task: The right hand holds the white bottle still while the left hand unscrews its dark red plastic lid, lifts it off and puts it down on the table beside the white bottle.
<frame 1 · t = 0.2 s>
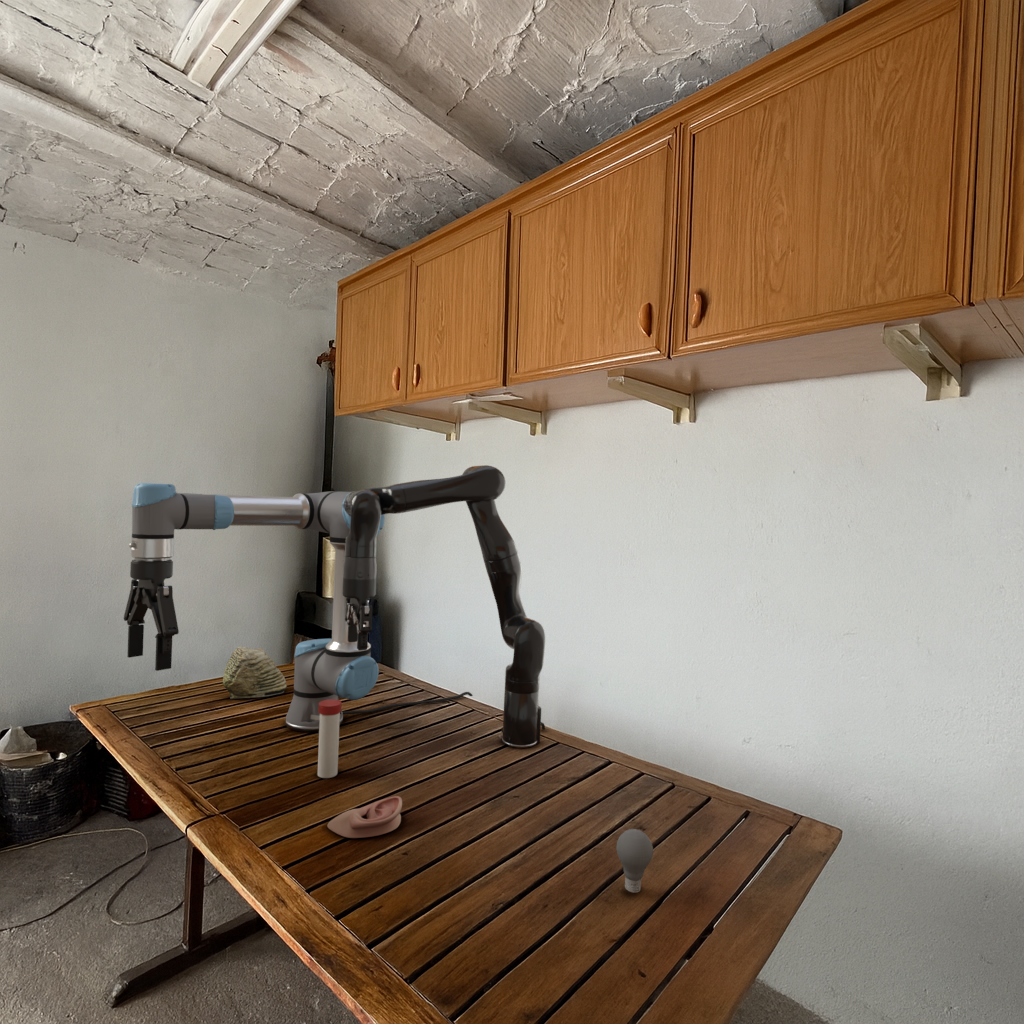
left hand: (148, 662, 129), 28 cm above the table, tool pointing down, fingers open, 13 cm apart
right hand: (357, 645, 147), 29 cm above the table, tool pointing down, fingers open, 8 cm apart
fossil: (254, 694, 198), on the table
white bottle: (327, 773, 145), on the table
anatomical model: (365, 824, 123), on the table
lid: (330, 704, 144), point 16 cm above the table, screwed on, not yet turned
light bulb: (632, 891, 106), on the table
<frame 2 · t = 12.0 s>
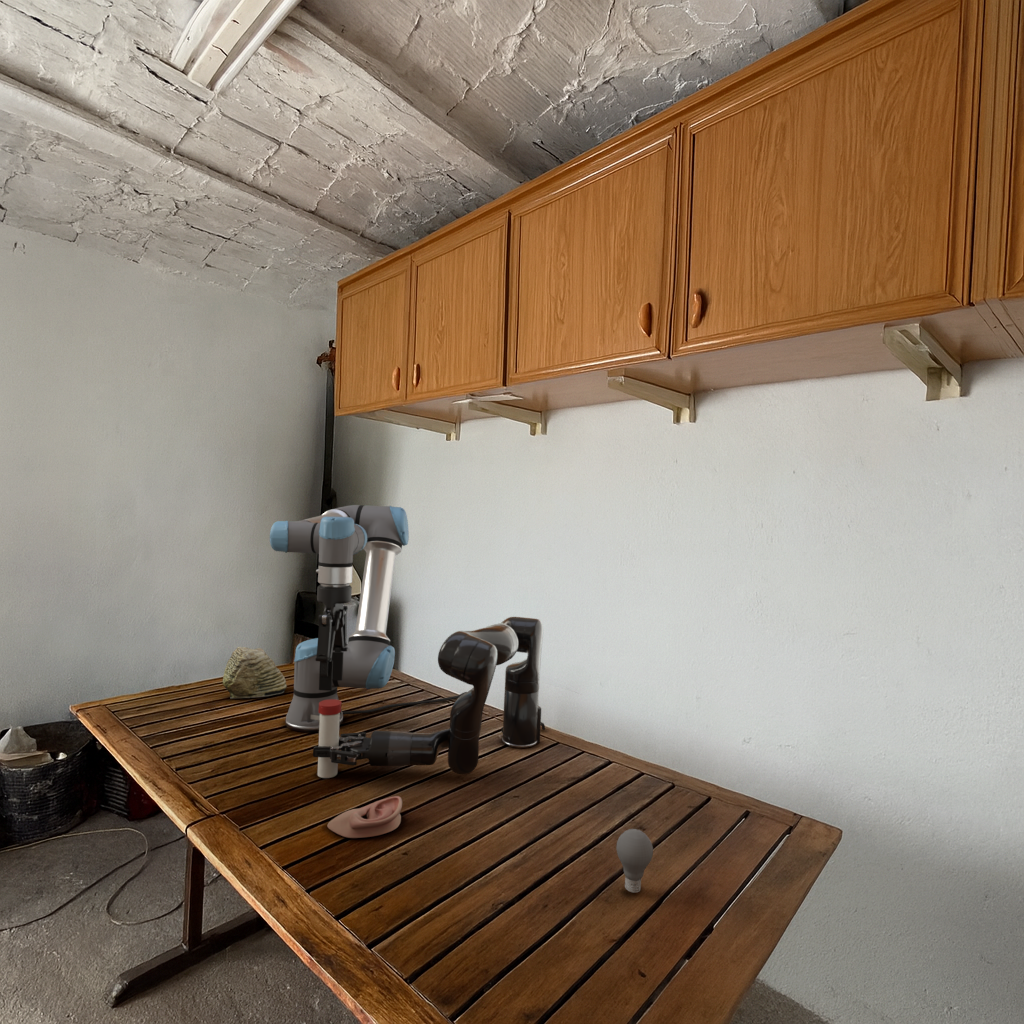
left hand: (331, 684, 144), 21 cm above the table, tool pointing down, fingers open, 7 cm apart
right hand: (316, 747, 144), 6 cm above the table, tool horizontal, fingers closed on white bottle, 4 cm apart
white bottle: (327, 773, 145), on the table, touching right hand
everything else where it was.
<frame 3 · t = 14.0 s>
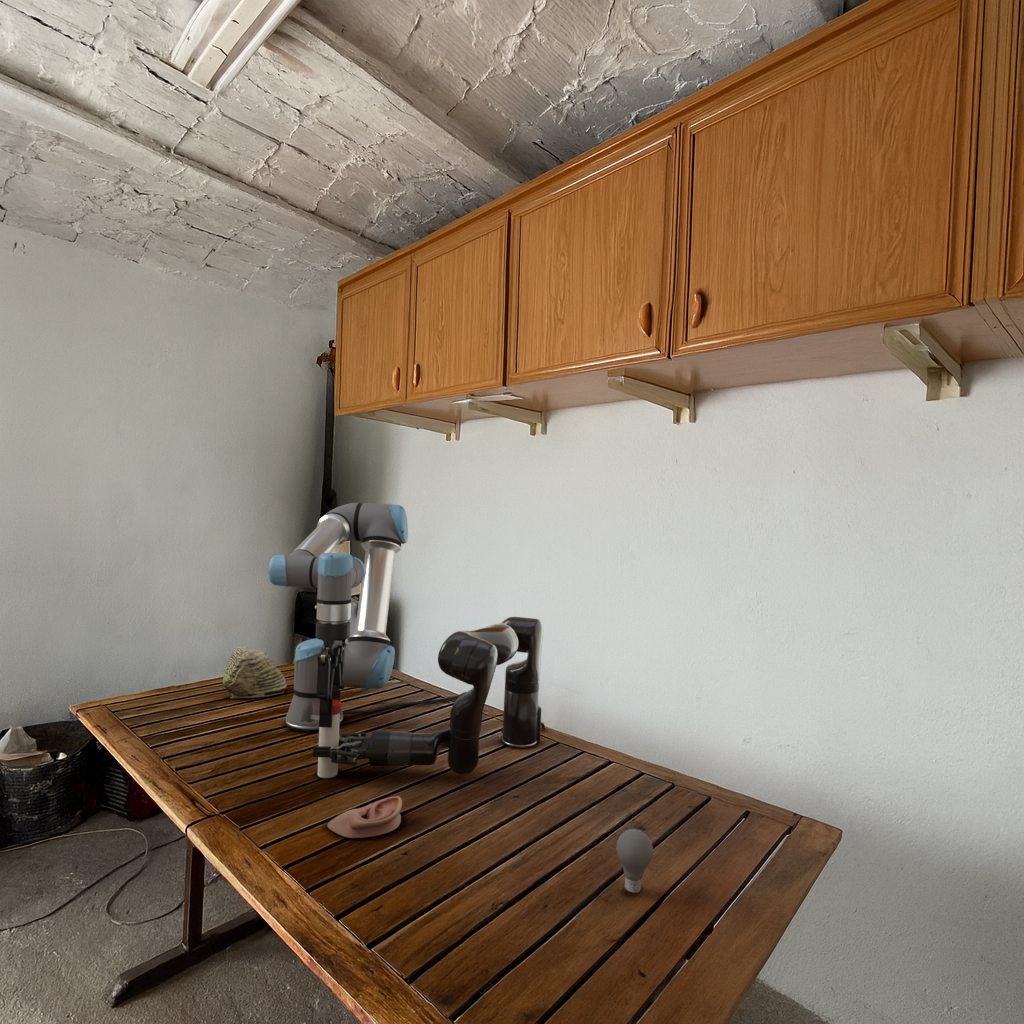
left hand: (329, 722, 145), 12 cm above the table, tool pointing down, fingers closed on lid, 5 cm apart
right hand: (316, 747, 144), 6 cm above the table, tool horizontal, fingers closed on white bottle, 4 cm apart
white bottle: (327, 773, 145), on the table, touching right hand
lid: (330, 704, 144), point 16 cm above the table, screwed on, not yet turned, touching left hand
everything else where it was.
when the left hand's fingers open (0 cm above the table, at t = 33.6 s): lid drops 3 cm, point 2 cm above the table.
when the right hand's fingers open (6 cm above the table, at t = 34.2 s): white bottle stays where it is, on the table.
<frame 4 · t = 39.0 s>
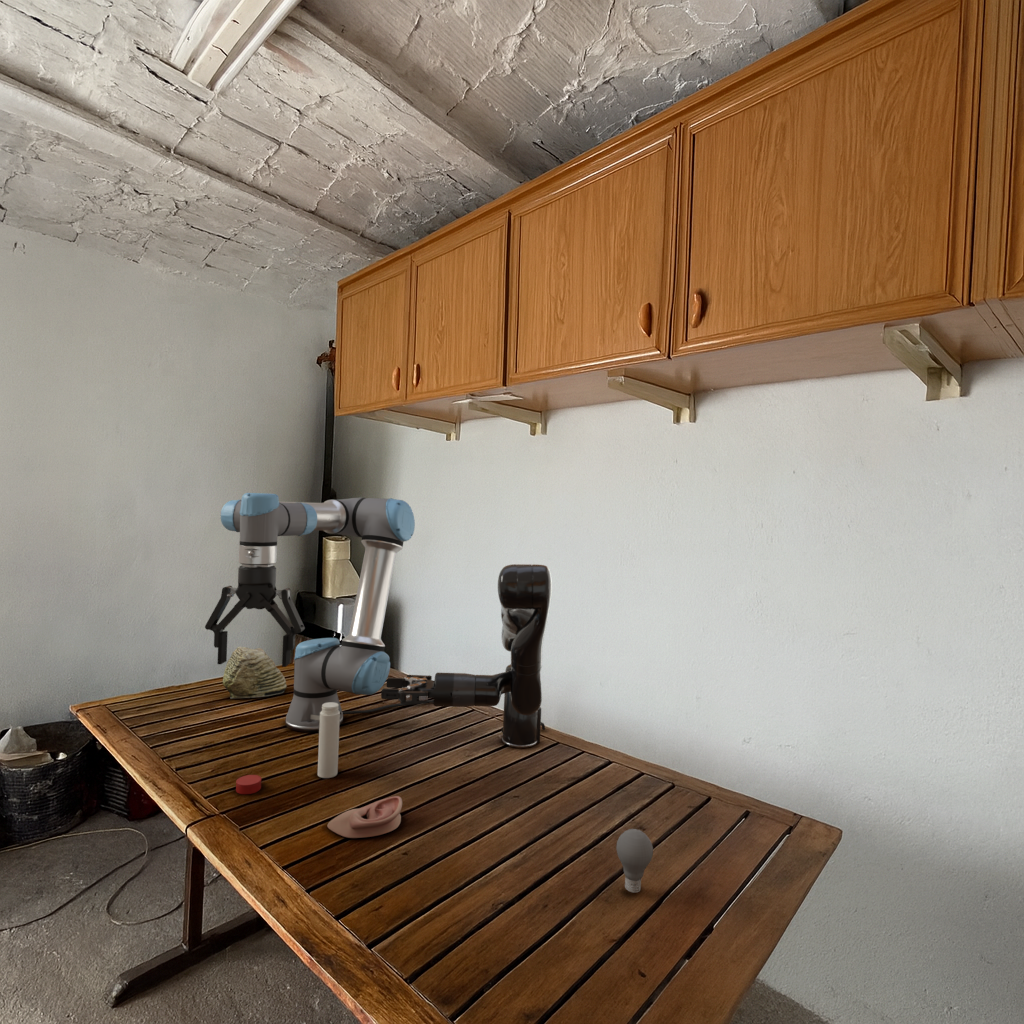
left hand: (254, 664, 136), 27 cm above the table, tool pointing down, fingers open, 13 cm apart
right hand: (384, 688, 145), 20 cm above the table, tool horizontal, fingers open, 8 cm apart
white bottle: (327, 773, 145), on the table
lid: (248, 781, 136), point 2 cm above the table, off its thread
everything else where it was.
at the end: lid came off its thread; lid point 1.6 cm above the table; the left hand is holding nothing; the right hand is holding nothing; white bottle tilted 0°; white bottle moved 0.0 cm from its start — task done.
